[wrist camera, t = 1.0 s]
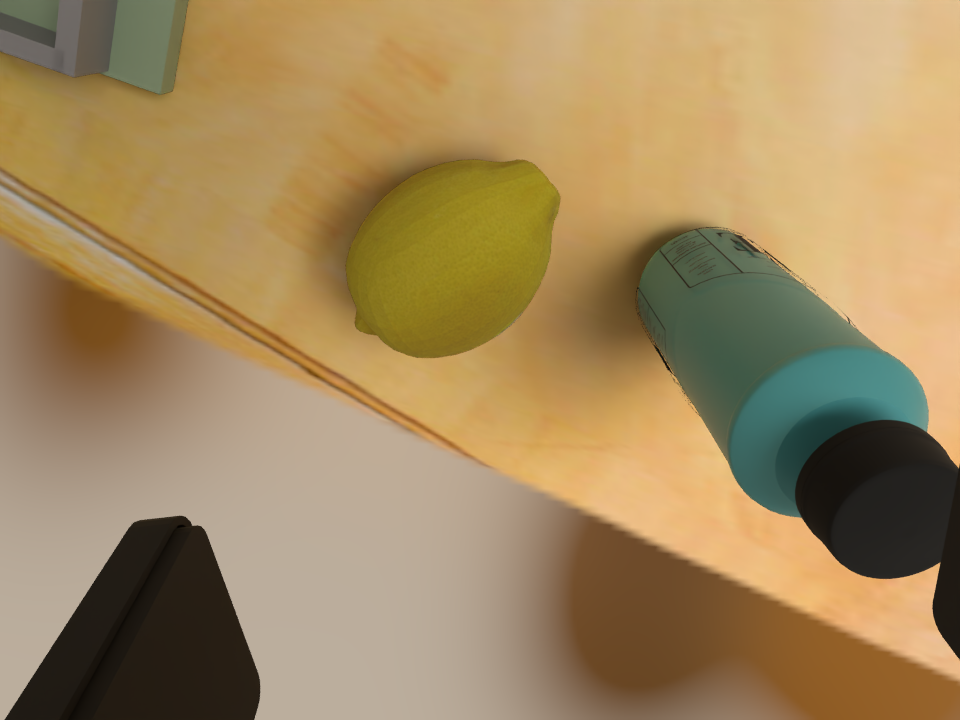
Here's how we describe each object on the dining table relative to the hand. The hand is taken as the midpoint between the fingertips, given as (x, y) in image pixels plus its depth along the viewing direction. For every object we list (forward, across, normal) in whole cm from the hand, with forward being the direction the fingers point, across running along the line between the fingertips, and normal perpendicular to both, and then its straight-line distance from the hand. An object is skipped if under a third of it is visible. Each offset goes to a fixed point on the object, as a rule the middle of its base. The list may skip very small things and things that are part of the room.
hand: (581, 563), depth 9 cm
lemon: (+28, +3, +4) cm, 28 cm away
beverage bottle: (+28, -9, +7) cm, 30 cm away
